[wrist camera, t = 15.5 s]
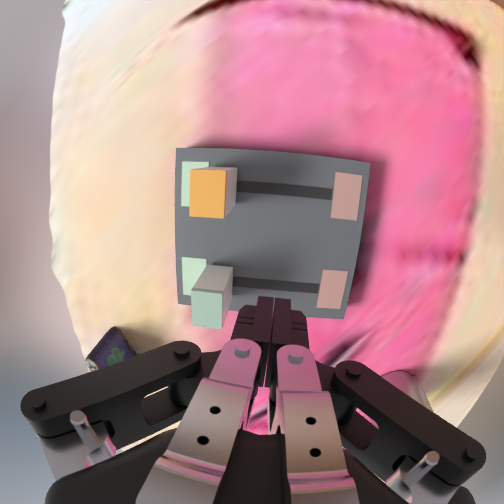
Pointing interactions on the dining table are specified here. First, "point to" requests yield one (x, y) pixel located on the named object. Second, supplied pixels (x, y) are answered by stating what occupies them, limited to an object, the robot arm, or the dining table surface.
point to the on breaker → (212, 296)
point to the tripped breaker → (212, 191)
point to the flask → (109, 350)
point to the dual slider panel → (276, 228)
